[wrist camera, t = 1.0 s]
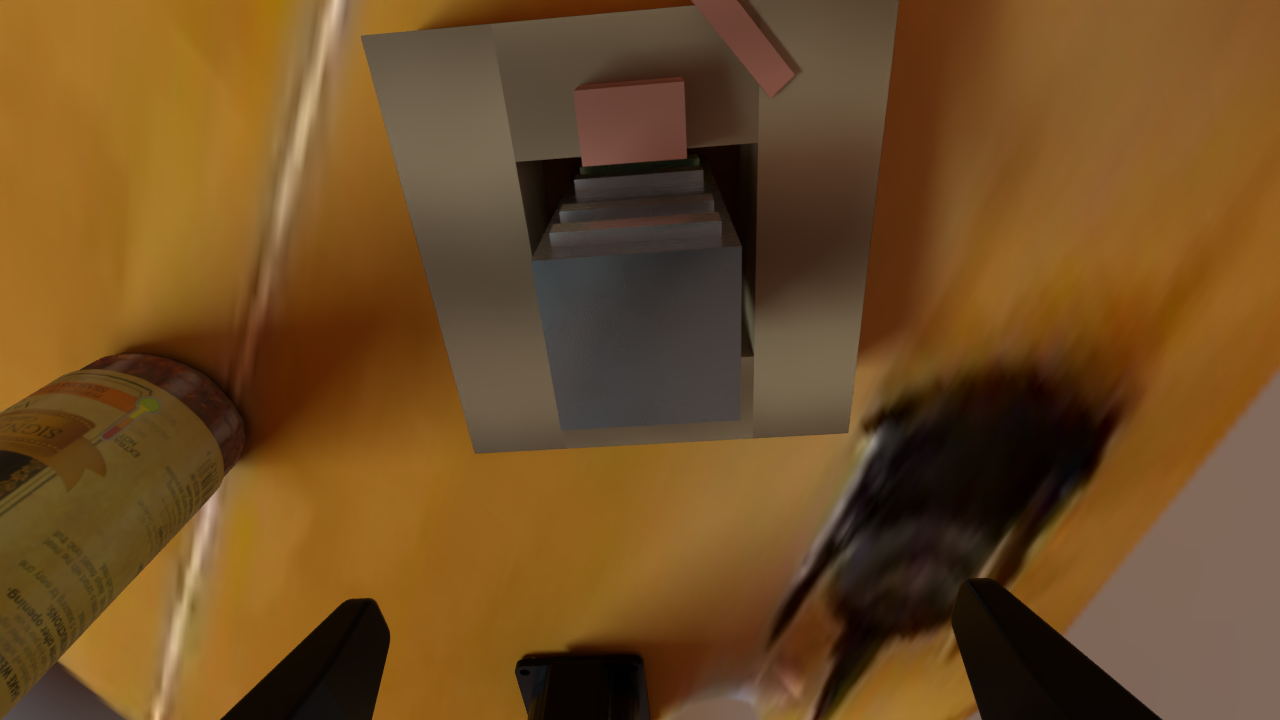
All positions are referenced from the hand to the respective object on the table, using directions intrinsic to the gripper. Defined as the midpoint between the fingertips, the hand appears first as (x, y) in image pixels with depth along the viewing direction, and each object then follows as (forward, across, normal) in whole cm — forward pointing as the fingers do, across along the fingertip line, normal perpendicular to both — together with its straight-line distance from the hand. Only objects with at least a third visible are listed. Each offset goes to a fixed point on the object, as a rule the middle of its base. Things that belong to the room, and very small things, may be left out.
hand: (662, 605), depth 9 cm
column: (+13, 0, -2) cm, 13 cm away
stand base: (+13, 0, -2) cm, 13 cm away
